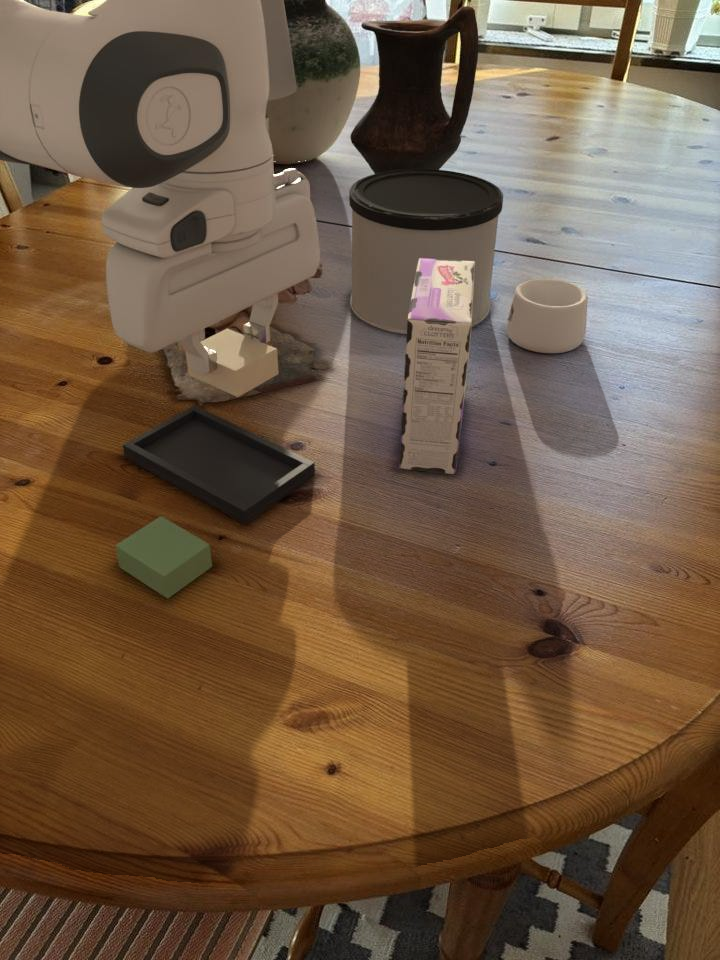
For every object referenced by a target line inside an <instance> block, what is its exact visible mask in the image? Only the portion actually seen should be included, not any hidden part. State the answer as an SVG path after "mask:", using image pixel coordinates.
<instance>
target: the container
mask: <svg viewBox="0 0 720 960" xmlns="http://www.w3.org/2000/svg"><path fill="white" fill-rule="evenodd" d="M348 192H349V198H348V199H349V206H350V208H351V295H350V299H349V300H350V301H349V302H350V303H349V304H350V308H351V310H352V312H353V313H354V315H356V317H358V318H359V319H360V320H361V321H363V322H364V323H366V324H368V325H370V326H372V327H374V328H378V329H380V330H383V331H387V332H389V333H390V332H391V333H396V334H401V335H407V320H408V314H409V308H410V302H411V297H412V291H413V286H414V280H415V275H416V270H417V265H418V261H419V258H423V259H438V260H459V261H475V272H474V296H473V313H472V326H471V328H473V327H475V326H477V325H479V324H481V323H482V322H483V321H484V320H485V319H486V318H487V316H488V315H489V312H490V307H491V303H490V297H491V289H492V287H491V286H492V277H493V269H494V259H495V252H496V251H495V250H496V241H497V233H498V231H497V230H498V222H499V215H500V214H501V212H502V211H503V204H504V194H503V191H502V190H501V189H500V188H499V187H498V186H497V185H495V184H494V183H492V182H491V181H489V180H486V179H484V178H481V177H478V176H475V175H471V174H467V173H464V172H458V171H452V170H444V169H439V170H435V169H404V170H394V171H387V172H382V173H377V174H375V173H373V174H370V175H367V176H365V177H362V178H359V179H358V180H357V181H355V182H354V183H353V184H351V186H350V187H349V191H348Z"/></svg>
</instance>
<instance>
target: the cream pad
mask: <svg viewBox="0 0 720 960" xmlns="http://www.w3.org/2000/svg"><path fill="white" fill-rule="evenodd" d="M201 344H202V345H203V346H204V347H206V348H207V349H211V350H213V351H216V352H217V361H216V362H217V369H216V370H214V371H212V372H211V373H209V374H207V375H205V376H201V375H199V374H197V373H195V372H193V370H192V369H191V366H190V359H189V353H188V352H187V351H186V350H185V351H186V359H187V367H188V374H189V375H190V376H192V377H195V378H197V379H199V380H201V381H203V382H206V383H208V384H210V385H212V386H214V387H217V388H219V389H221V390H223V391H225V392H227V393H230V394H232V395H234V396H236V397H239V396H241V395H243V394H244V393H246V392H248V391H250V390H251V389H253V388H255V387H257V386H258V385H260V384H262V383H264V382H265V381H267V380H269V379H271V378H273V377H274V376H276V375H278V356H277V348H274V347H272V346H269V345H267V344H264V343H262V342H259V341H257V340H254V339H252V338H249V337H247V336H245V335H242V334H240V333H237V332H235V331H232V330H230V329H225V330H223V331H221V332H219V333H217V334H215V335H213V336H211V337H209V338H207V339H205V340H203V341H201Z"/></svg>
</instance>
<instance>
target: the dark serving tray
mask: <svg viewBox="0 0 720 960" xmlns="http://www.w3.org/2000/svg"><path fill="white" fill-rule="evenodd" d="M122 451H123V455H124V456H123V457H124V458H125V459H126V460H128V461H129V462H132V463H133V464H135V465H137V466H139V467H141V468H143V469H144V470H146V471H147V472H150V473H151V474H153V475H155V476H157V477H159V478H160V479H162V480H164V481H166V482H167V483H170V484H171V485H173V486H175V487H177V488H178V489H180V490H182V491H184V492H186V493H188V494H189V495H191V496H193V497H195V498H197V499H198V500H200V501H202V502H203V503H206V504H208V505H209V506H210V507H213V508H215V509H216V510H218V511H220V512H222V513H223V514H225V515H227V516H229V517H230V518H233V519H235V520H236V521H238V522H240V523H242V524H243V525H247V524H249V523H250V522H252V521H253V520H255V519H256V518H257V517H259V516H261V515H262V513H264V512H265V511H267V510H268V509H270V508H272V507H273V506H275V505H276V504H277V503H279V502H280V501H282V500H283V499H284V498H286V497H287V496H288V495H290V494H292V493H293V492H294V491H295V490H297V489H298V488H300V487H301V486H303V485H304V484H306V483H307V482H309V481H310V480H311V479H312V478H314V477H316V467H315V466H316V465H315V462H314V461H312V460H310V459H308V458H306V457H305V456H302V455H300V454H298V453H296V452H293V451H291V450H290V449H287V448H285V447H284V446H281V445H279V444H277V443H275V442H273V441H271V440H269V439H266V438H265V437H262V436H260V435H259V434H256V433H254V432H252V431H250V430H248V429H245V428H244V427H241V426H240V425H238V424H235V423H233V422H231V421H229V420H227V419H225V418H223V417H221V416H219V415H216V414H215V413H212V412H210V411H208V410H206V409H204V408H202V407H201V406H198V405H196V404H193V405H192V406H190V407H188V408H187V409H184V410H183V411H181V412H179V413H177V414H176V415H173V416H172V417H170V418H168V419H167V420H165V421H163V422H161V423H159V424H158V425H155V426H154V427H152V428H150V429H148V430H147V431H144V432H142V433H141V434H139V435H138V436H135V437H133V438H132V439H130V440H128V441H126V442H124V443H123V444H122Z"/></svg>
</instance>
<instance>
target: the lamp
mask: <svg viewBox="0 0 720 960" xmlns="http://www.w3.org/2000/svg"><path fill="white" fill-rule="evenodd" d="M260 1H261V6H262V12H263V18H264V26H265V33H266V43H267V55H268V69H269V97H268V101H271V100H276V99H280V98H284V97H287V96H289V95H291V94H293V93H294V92H295V91H296V90H297V85H296V79H295V72H294V65H293V58H292V51H291V45H290V38H289V31H288V25H287V19H286V13H285V6H284V0H260ZM265 118H266V127H267V132H268V135H269V138H270V124H269V115H268V114H267V113H266V117H265Z"/></svg>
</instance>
